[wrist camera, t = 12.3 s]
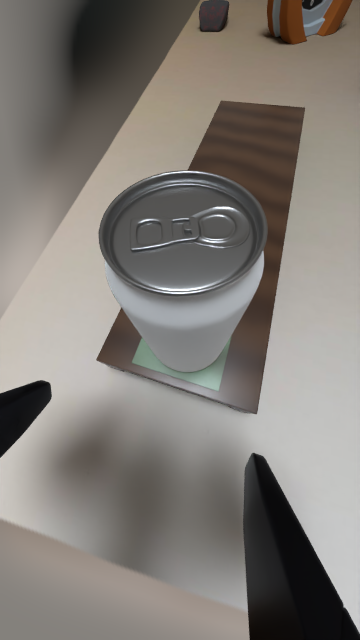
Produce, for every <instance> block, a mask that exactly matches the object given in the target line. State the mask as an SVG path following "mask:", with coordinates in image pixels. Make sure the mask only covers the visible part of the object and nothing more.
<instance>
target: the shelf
mask: <svg viewBox="0 0 360 640" xmlns="http://www.w3.org/2000/svg"><path fill="white" fill-rule="evenodd" d="M304 112H305V108H302V107H290V106H278V105H266V104H254V103H242V102H230V101H221V102H220V104H219V106H218V108H217V110H216V113H215V115H214V117H213V119H212V121H211V123H210V125H209V127H208V129H207V131H206V133H205V135H204V137H203V139H202V142H201V144H200V146H199V148H198V150H197V152H196V154H195V156H194V158H193V160H192V162H191V164H190V166H189V169H188V170H189V171H202V172H208V173H213V174H217V175H220V176H223V177H226V178H228V179H230V180H233V181H235V182H236V183H238V184H240V185H241V186H243V187H244V188H245V189H247V190H248V191H249V192H250V193H251V194H252V195H253V196H254V197H255V198H256V199H257V201H258V202H259V203H260V205H261V207H262V209H263V211H264V213H265V216H266V220H267V227H268V233H267V240H266V244H265V247H264V250H263V253H264V268H263V274H262V277H261V280H260V283H259V286H258V288H257V290H256V292H255V294H254V296H253V298H252V300H251V302H250V303H249V305H248V307H247V309H246V311H245V312H244V314H243V316H242V318H241V319H240V321H239V323H238V325H237V326H236V328H235V330H234V332H233V333H232V335H231V337H230V338H229V340H228V342H227V343H226V345H225V347H224V349H223V350H222V352H221V353H220V355H219V356H218V358H217V359H216V360H215V361H214V362H213V363H212V364H211V365H209V366H208V367H206V368H204V369H202V370H199V371H195V372H180V371H176V370H173V369H171V368H169V367H167V366H166V365H164V364H163V363H162V362H161V361H160V360H159V359H158V358H157V357H156V355H155V354H154V353H153V351H152V350H151V349H150V347H149V346H148V344H147V343H146V342H145V340H144V339H143V337H142V336H141V335H140V333H139V332H138V330H137V329H136V328H135V326H134V325H133V323H132V322H131V320H130V319H129V318H128V316H127V315H126V313H125V312H124V310H123V309H122V307H121V310H120V312H119V314H118V316H117V318H116V320H115V322H114V324H113V326H112V328H111V330H110V332H109V334H108V337H107V339H106V341H105V343H104V345H103V347H102V349H101V351H100V353H99V355H98V357H97V359H96V360H97V361H99V362H101V363H103V364H105V365H107V366H110V367H112V368H115V369H118V370H121V371H128V372H130V373H133V374H136V375H139V376H142V377H145V378H148V379H151V380H154V381H157V382H160V383H163V384H166V385H169V386H172V387H175V388H178V389H181V390H184V391H187V392H190V393H193V394H196V395H199V396H202V397H205V398H207V399H210V400H213V401H216V402H219V403H222V404H225V405H228V406H229V407H230V408H233V409H236V410H239V411H242V412H245V413H252V414H257V411H258V404H259V398H260V392H261V385H262V379H263V372H264V366H265V360H266V353H267V347H268V341H269V334H270V328H271V322H272V315H273V309H274V303H275V296H276V290H277V283H278V277H279V271H280V264H281V258H282V252H283V245H284V239H285V233H286V226H287V220H288V213H289V207H290V201H291V194H292V188H293V182H294V175H295V169H296V163H297V156H298V150H299V144H300V137H301V131H302V124H303V118H304Z"/></svg>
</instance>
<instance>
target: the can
mask: <svg viewBox="0 0 360 640" xmlns="http://www.w3.org/2000/svg"><path fill="white" fill-rule="evenodd" d="M267 233H268V227H267V220H266V216H265V213H264V211H263V209H262V207H261V205H260V203H259V202H258V201H257V199H256V198H255V197H254V196H253V195H252V194H251V193H250V192H249V191H248V190H247V189H245V188H244V187H243V186H241V185H240V184H238V183H236V182H235V181H233V180H230V179H228V178H226V177H223V176H220V175H217V174H213V173H208V172H202V171H189V170H188V171H172V172H166V173H161V174H157V175H154V176H151V177H148V178H146V179H143V180H141V181H139V182H137V183H135V184H133V185H132V186H130V187H128V188H127V189H126V190H124V191H123V192H122V193H121V194H119V195H118V196H117V197H116V198H115V199H114V200H113V201H112V203H111V204H110V205H109V207H108V208H107V210H106V211H105V213H104V215H103V218H102V220H101V224H100V228H99V244H100V249H101V252H102V254H103V257H104V259H105V271H106V277H107V281H108V284H109V286H110V289H111V291H112V293H113V295H114V297H115V298H116V300H117V301H118V303H119V304H120V306H121V307H122V309H123V310H124V312H125V313H126V315H127V316H128V318H129V319H130V320H131V322H132V323H133V325H134V326H135V328H136V329H137V330H138V332H139V333H140V335H141V336H142V337H143V339H144V340H145V342H146V343H147V344H148V346H149V347H150V349H151V350H152V351H153V353H154V354H155V355H156V357H157V358H158V359H159V360H160V361H161V362H162V363H163V364H164V365H166V366H167V367H169V368H171V369H173V370H176V371H180V372H195V371H199V370H202V369H204V368H206V367H208V366H209V365H211V364H212V363H213V362H214V361H215V360H216V359H217V358H218V356H219V355H220V353H221V352H222V350H223V349H224V347H225V345H226V343H227V342H228V340H229V338H230V337H231V335H232V333H233V332H234V330H235V328H236V326H237V325H238V323H239V321H240V319H241V318H242V316H243V314H244V312H245V311H246V309H247V307H248V305H249V303H250V302H251V300H252V298H253V296H254V294H255V292H256V290H257V288H258V286H259V283H260V280H261V277H262V274H263V268H264V253H263V250H264V247H265V244H266V240H267Z"/></svg>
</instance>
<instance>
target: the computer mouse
mask: <svg viewBox="0 0 360 640" xmlns="http://www.w3.org/2000/svg"><path fill="white" fill-rule="evenodd" d="M228 10H229V2H228V1H225V0H209V1H204V2H202V4H201V6H200V10H199V20H200V27H201V30H202V31H220V30H221V29H222V28H223V26H224V24H225V22H226V19H227V16H228Z"/></svg>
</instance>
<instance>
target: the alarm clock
mask: <svg viewBox="0 0 360 640" xmlns="http://www.w3.org/2000/svg"><path fill="white" fill-rule="evenodd" d="M351 2H352V0H268V5H267V17H268V27H269V30H270V33H271V35H272V36H275V37H278V36H281V38H282V40H283V41H285V42H288V43H290V44H297V43H300V42H304V41H307V40H306V36H309V35H313V34H319V35H321V36H325V35H329V34H332V33H335V32H336V30H337V29H338V27H339V25H340V24H341V22H342V20H343V18H344V16H345V14H346V12H347V10H348V8H349V6H350V4H351Z"/></svg>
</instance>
